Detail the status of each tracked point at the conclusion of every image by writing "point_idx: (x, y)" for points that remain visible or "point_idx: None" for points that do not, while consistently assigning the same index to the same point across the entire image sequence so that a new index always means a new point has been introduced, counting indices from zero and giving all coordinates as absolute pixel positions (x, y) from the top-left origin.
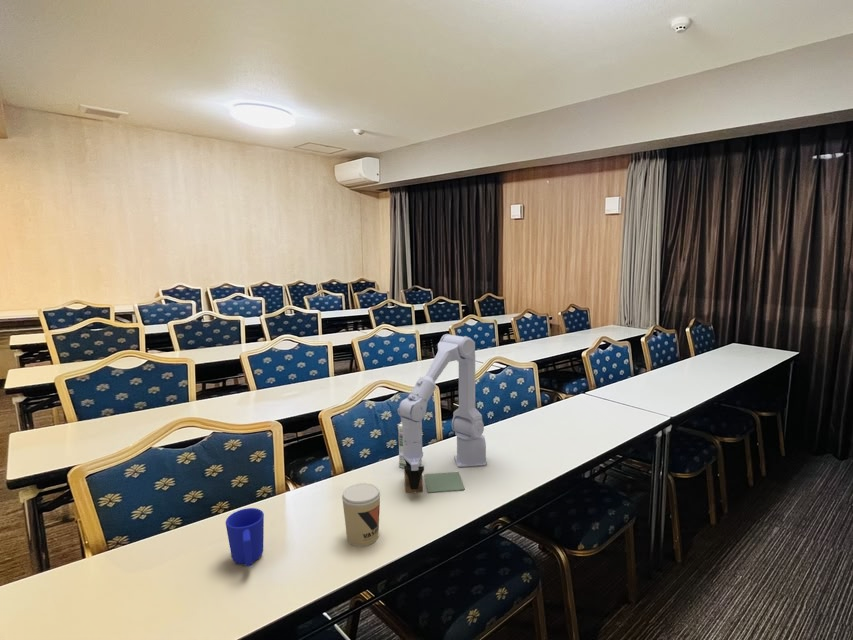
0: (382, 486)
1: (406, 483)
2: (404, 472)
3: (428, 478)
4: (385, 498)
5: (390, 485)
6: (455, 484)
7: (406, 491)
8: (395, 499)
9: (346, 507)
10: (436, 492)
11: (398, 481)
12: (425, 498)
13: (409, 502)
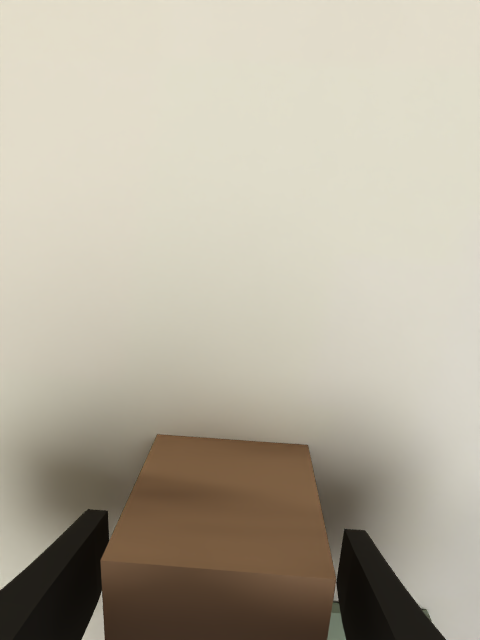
0: (329, 237)
1: (127, 507)
2: (290, 556)
3: (344, 635)
4: (86, 249)
5: (328, 320)
6: None
7: (153, 449)
8: (61, 338)
9: None
10: None
11: (387, 401)
12: None
13: (7, 441)
